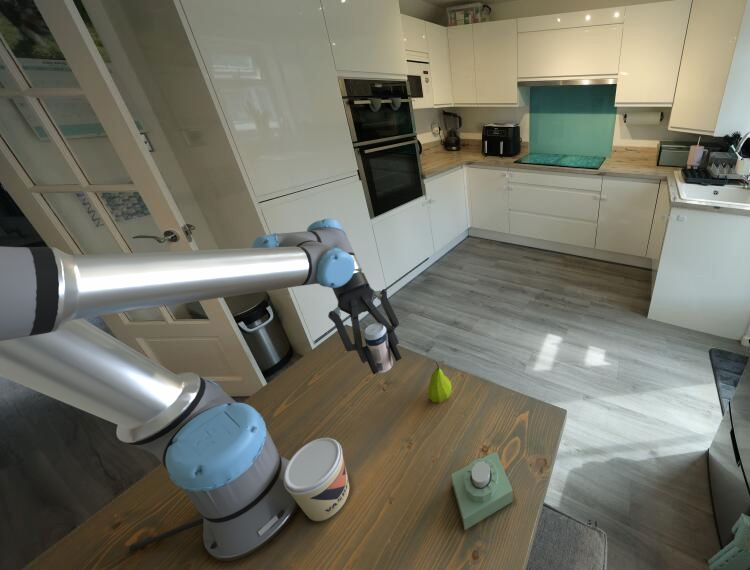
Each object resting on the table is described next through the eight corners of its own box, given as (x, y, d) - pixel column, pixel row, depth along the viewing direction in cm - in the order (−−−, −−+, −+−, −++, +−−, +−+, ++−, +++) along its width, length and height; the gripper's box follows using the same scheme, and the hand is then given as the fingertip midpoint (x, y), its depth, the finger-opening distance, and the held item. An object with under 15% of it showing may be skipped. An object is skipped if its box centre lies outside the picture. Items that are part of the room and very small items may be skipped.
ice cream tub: (332, 533, 57) (315, 497, 52) (289, 520, 59) (268, 484, 54) (363, 476, 66) (351, 441, 61) (325, 466, 67) (310, 431, 62)
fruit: (438, 412, 79) (433, 379, 74) (423, 398, 82) (418, 365, 77) (457, 395, 83) (454, 363, 78) (443, 382, 87) (439, 350, 82)
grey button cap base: (464, 530, 58) (462, 513, 55) (452, 485, 64) (450, 468, 62) (512, 501, 62) (512, 484, 59) (496, 462, 68) (496, 445, 66)
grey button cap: (475, 492, 59) (475, 486, 58) (469, 472, 61) (468, 466, 61) (493, 482, 60) (492, 476, 59) (486, 464, 63) (485, 458, 62)
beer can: (397, 364, 76) (390, 326, 71) (380, 378, 73) (371, 339, 68) (384, 356, 79) (376, 319, 74) (368, 369, 75) (358, 331, 70)
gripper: (380, 269, 84) (418, 348, 81) (305, 297, 73) (345, 390, 69) (385, 259, 79) (426, 343, 75) (305, 288, 67) (349, 389, 63)
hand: (387, 366), depth 72 cm, fingers closed on beer can, 5 cm apart
